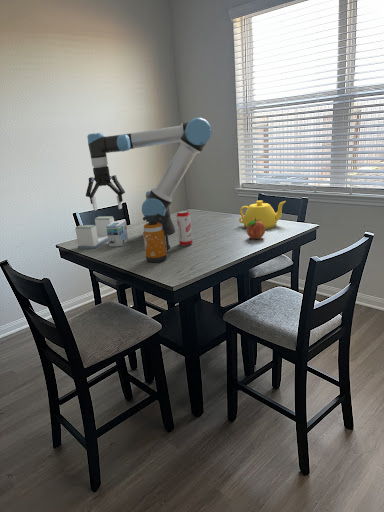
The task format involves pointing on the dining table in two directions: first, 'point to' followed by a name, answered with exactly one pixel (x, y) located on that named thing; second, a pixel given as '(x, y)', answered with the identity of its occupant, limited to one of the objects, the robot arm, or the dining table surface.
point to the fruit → (255, 229)
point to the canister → (155, 238)
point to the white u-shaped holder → (93, 233)
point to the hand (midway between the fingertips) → (108, 209)
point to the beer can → (184, 228)
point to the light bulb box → (117, 233)
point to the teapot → (261, 214)
